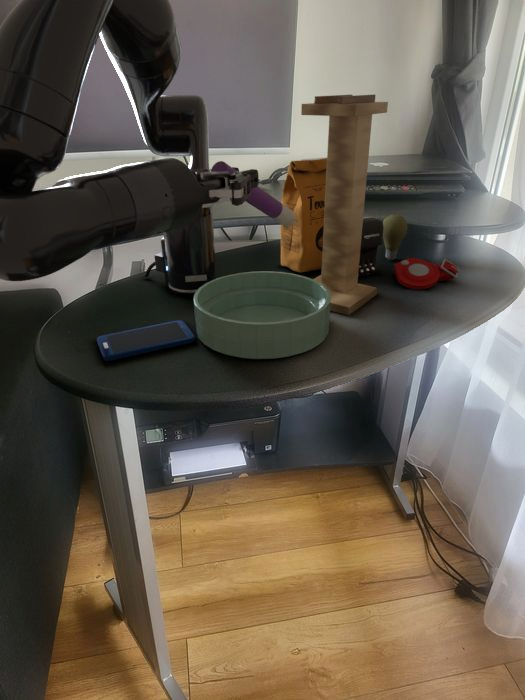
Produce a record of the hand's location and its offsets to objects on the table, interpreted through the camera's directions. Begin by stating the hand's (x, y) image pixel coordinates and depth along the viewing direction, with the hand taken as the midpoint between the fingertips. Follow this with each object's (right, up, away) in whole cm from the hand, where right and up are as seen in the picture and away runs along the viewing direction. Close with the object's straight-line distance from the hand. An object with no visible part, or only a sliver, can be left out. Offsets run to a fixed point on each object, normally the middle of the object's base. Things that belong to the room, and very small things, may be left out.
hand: (246, 176), depth 64 cm
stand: (+15, -13, +25) cm, 32 cm away
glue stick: (+1, -3, +3) cm, 5 cm away
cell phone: (-16, -22, +10) cm, 29 cm away
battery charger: (+23, -8, +35) cm, 43 cm away
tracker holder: (+34, -10, +31) cm, 47 cm away
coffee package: (+13, -5, +40) cm, 42 cm away
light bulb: (+31, -3, +43) cm, 53 cm away
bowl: (+2, -20, +14) cm, 24 cm away
